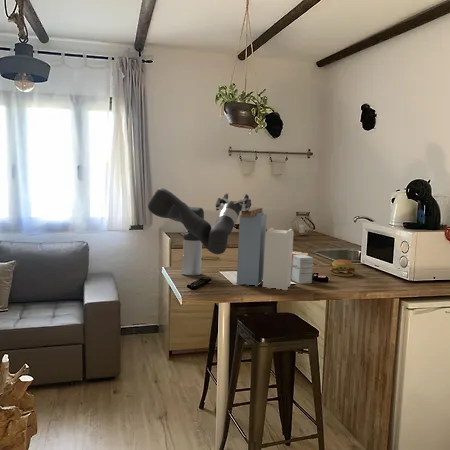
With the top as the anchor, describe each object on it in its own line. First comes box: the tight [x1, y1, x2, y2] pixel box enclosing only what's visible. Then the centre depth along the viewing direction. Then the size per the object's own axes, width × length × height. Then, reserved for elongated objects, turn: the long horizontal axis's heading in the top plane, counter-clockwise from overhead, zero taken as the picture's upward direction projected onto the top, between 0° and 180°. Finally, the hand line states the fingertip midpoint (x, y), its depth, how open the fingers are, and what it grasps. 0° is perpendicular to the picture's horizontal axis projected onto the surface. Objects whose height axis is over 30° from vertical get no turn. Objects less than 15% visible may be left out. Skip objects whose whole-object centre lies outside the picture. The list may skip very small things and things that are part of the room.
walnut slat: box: [240, 206, 263, 218], centre depth 218 cm, size 24×4×3 cm, turn 163°
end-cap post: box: [262, 226, 295, 291], centre depth 219 cm, size 11×11×26 cm
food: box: [329, 258, 358, 278], centre depth 253 cm, size 14×14×8 cm
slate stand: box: [236, 211, 268, 287], centre depth 224 cm, size 13×10×33 cm
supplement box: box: [291, 255, 314, 285], centre depth 231 cm, size 7×7×13 cm
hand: (237, 195), depth 204 cm, fingers open, 8 cm apart
